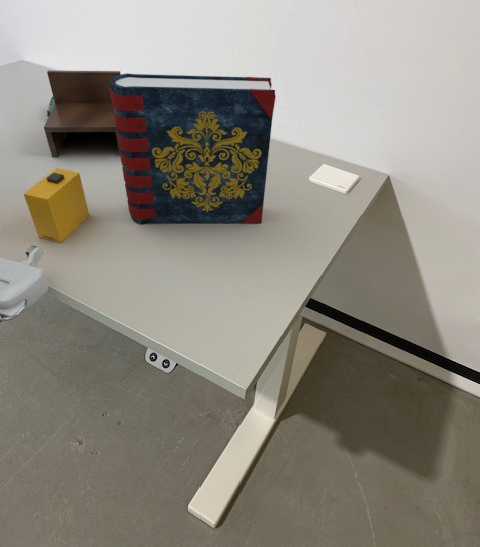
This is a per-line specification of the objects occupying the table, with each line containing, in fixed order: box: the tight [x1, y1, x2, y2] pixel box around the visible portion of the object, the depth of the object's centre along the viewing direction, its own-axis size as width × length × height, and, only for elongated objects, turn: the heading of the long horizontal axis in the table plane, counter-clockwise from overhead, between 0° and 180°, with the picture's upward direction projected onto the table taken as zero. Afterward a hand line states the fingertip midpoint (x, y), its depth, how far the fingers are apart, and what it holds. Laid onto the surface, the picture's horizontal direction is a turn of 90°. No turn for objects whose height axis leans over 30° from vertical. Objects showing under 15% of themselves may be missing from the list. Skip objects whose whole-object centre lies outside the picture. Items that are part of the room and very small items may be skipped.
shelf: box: [43, 70, 122, 158], centre depth 95 cm, size 16×14×14 cm
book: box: [109, 72, 276, 225], centre depth 73 cm, size 25×7×25 cm, turn 94°
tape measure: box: [23, 167, 90, 244], centre depth 73 cm, size 9×4×10 cm, turn 163°
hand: (12, 242), depth 65 cm, fingers open, 8 cm apart
